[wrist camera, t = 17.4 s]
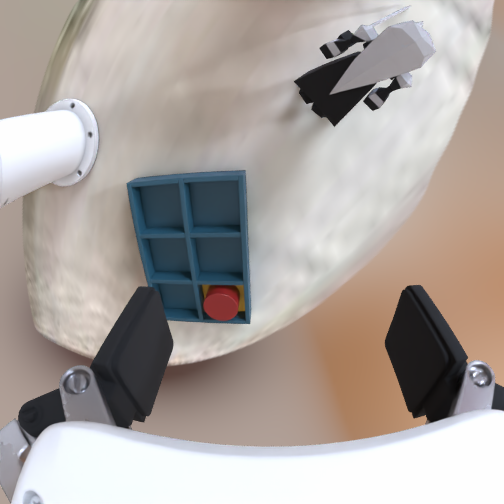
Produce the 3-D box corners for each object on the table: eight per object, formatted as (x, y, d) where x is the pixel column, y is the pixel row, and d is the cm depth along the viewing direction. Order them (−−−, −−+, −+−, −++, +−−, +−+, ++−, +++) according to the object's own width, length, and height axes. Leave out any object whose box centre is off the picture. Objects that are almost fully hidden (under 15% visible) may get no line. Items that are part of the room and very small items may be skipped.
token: (209, 306, 39) (205, 320, 36) (205, 280, 36) (201, 293, 34) (241, 307, 38) (239, 321, 36) (239, 280, 36) (237, 294, 33)
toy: (371, 83, 31) (449, 44, 18) (324, 143, 24) (458, 81, 11) (338, 45, 29) (412, -3, 16) (271, 86, 22) (391, -8, 9)
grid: (163, 308, 40) (157, 319, 38) (136, 178, 31) (126, 183, 28) (251, 311, 39) (250, 324, 37) (245, 170, 30) (243, 174, 28)
